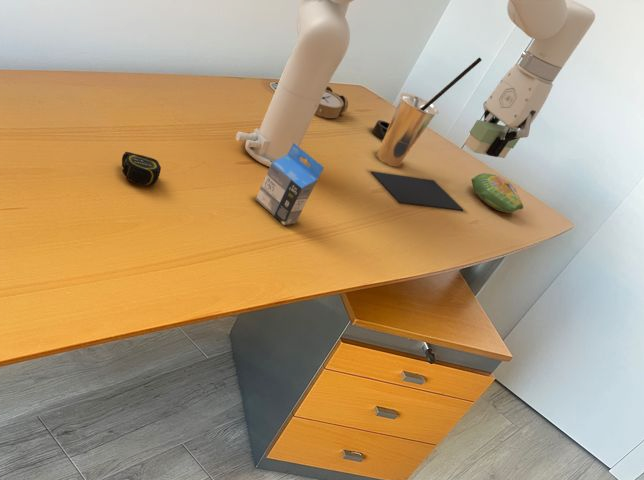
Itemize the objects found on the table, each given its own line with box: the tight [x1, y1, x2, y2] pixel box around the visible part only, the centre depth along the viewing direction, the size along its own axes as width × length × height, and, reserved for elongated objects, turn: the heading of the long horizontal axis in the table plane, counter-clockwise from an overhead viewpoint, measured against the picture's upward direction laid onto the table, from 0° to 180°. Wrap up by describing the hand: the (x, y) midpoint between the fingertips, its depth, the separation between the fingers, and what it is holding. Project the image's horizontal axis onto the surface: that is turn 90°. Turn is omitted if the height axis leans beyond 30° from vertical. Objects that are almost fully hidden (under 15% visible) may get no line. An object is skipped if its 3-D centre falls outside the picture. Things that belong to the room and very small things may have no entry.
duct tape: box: [371, 119, 390, 141], centre depth 188 cm, size 8×10×3 cm
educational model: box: [470, 172, 524, 214], centre depth 176 cm, size 13×16×6 cm
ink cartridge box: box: [255, 143, 325, 226], centre depth 132 cm, size 9×4×12 cm, turn 37°
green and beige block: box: [463, 119, 521, 159], centre depth 149 cm, size 10×4×6 cm, turn 109°
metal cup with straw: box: [376, 57, 483, 168], centre depth 167 cm, size 11×11×30 cm
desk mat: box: [370, 170, 464, 212], centre depth 167 cm, size 20×13×1 cm, turn 109°
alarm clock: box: [314, 85, 349, 119], centre depth 189 cm, size 11×5×15 cm
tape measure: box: [121, 151, 162, 186], centre depth 126 cm, size 7×7×4 cm
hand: (485, 149), depth 151 cm, fingers closed on green and beige block, 4 cm apart
